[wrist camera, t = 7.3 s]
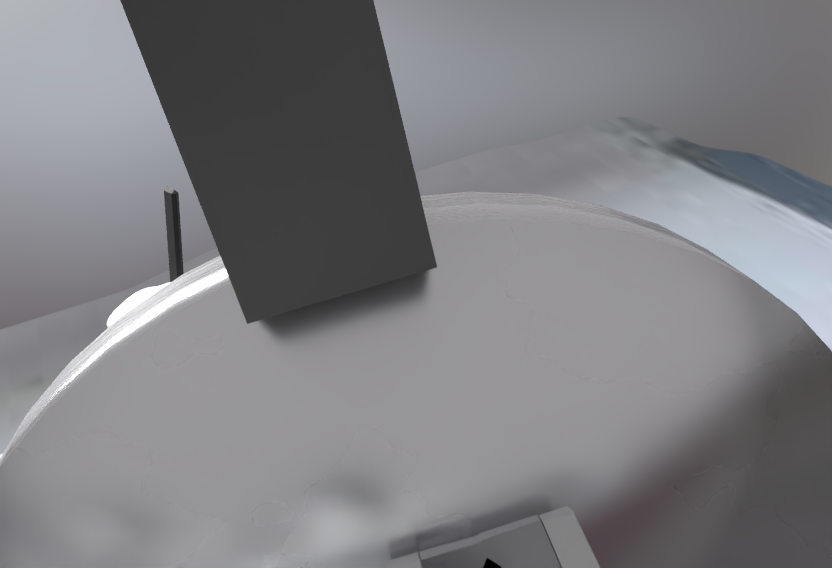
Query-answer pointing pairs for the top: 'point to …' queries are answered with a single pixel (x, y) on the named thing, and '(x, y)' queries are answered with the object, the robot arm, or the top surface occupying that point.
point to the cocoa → (173, 252)
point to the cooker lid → (408, 351)
